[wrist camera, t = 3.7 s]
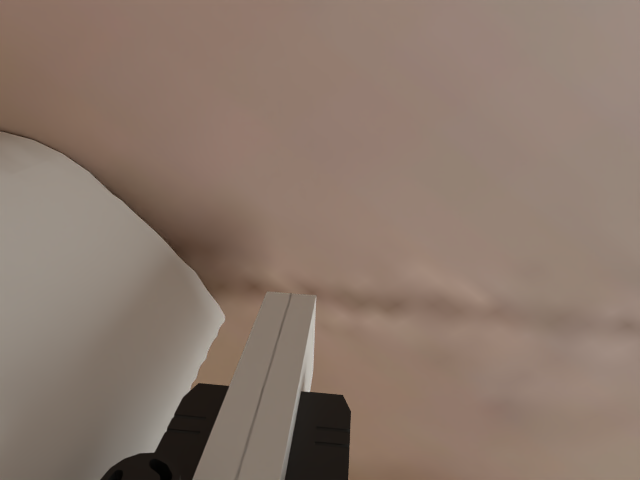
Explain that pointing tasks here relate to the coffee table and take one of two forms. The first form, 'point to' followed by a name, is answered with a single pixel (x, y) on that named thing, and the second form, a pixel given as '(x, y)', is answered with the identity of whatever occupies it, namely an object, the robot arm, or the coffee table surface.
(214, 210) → the coffee table surface
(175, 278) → the toilet tissue
